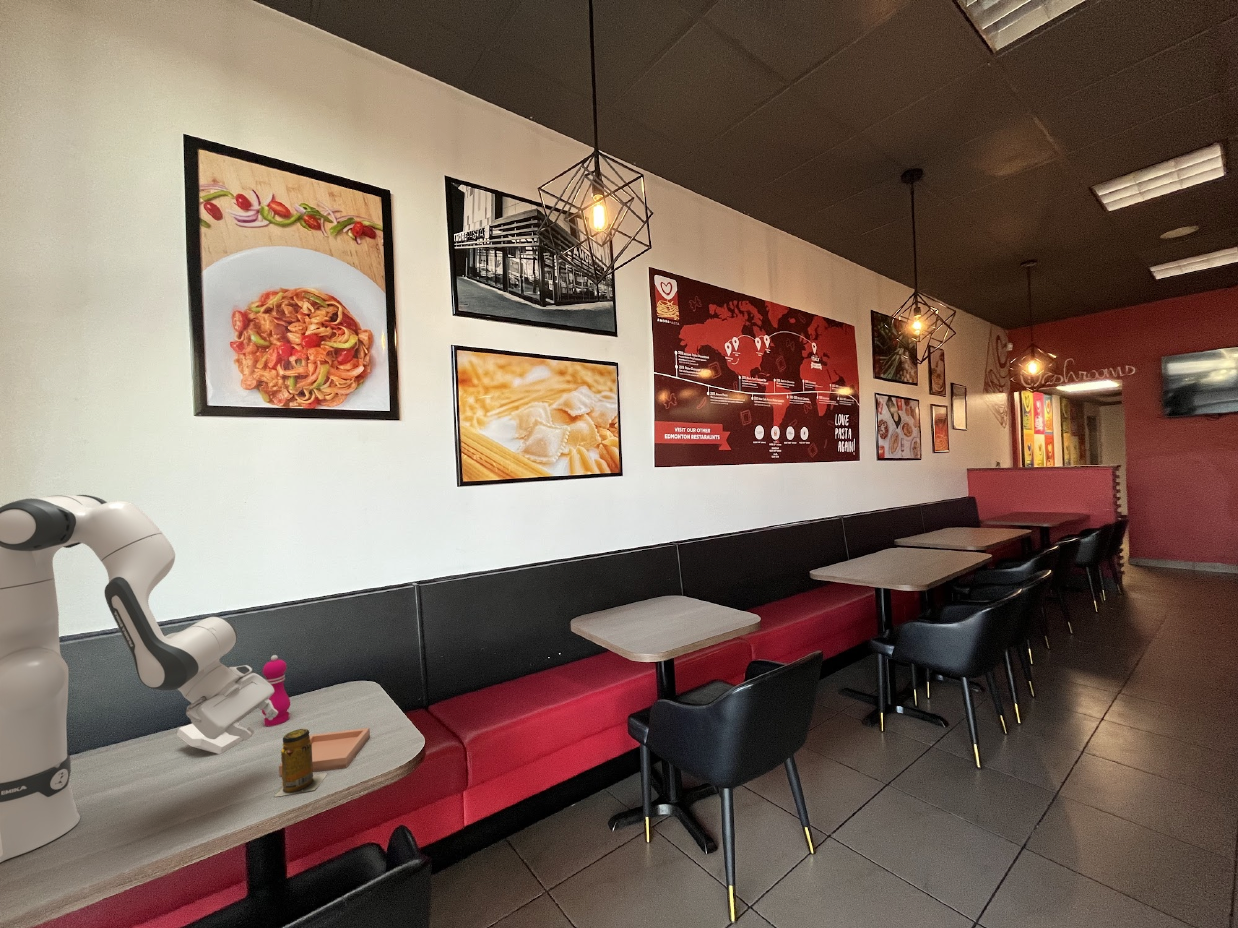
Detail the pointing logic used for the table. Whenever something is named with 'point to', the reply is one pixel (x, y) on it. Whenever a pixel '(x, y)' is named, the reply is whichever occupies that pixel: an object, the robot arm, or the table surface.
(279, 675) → the pepper mill
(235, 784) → the table surface
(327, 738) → the tray
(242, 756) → the table surface
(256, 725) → the table surface
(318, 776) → the condiment
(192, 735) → the white stepped rock sculpture
